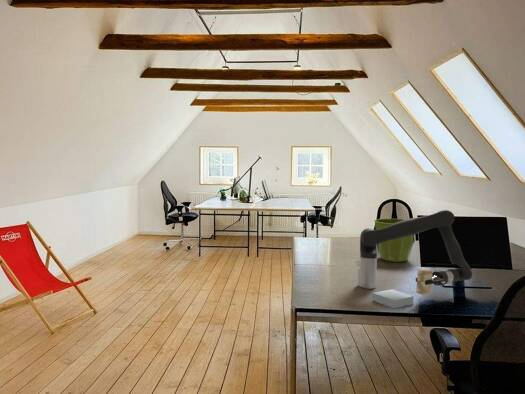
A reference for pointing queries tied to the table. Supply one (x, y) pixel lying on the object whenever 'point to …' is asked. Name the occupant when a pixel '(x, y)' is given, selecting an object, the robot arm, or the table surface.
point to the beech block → (423, 281)
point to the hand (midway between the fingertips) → (421, 281)
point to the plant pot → (393, 243)
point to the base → (393, 298)
